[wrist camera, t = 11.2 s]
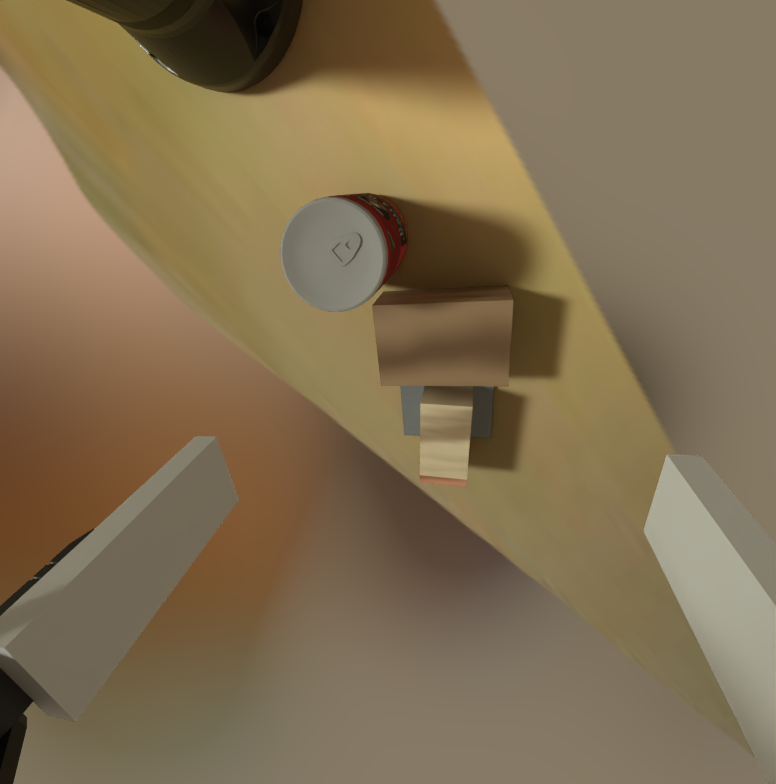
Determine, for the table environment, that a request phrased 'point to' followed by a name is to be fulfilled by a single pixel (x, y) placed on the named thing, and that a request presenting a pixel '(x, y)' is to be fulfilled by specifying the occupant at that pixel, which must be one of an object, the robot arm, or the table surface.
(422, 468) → the block
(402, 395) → the mat
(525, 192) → the table surface
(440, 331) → the step
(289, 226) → the canned food
